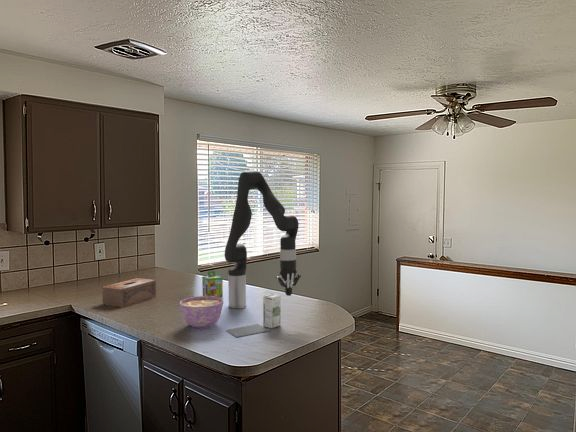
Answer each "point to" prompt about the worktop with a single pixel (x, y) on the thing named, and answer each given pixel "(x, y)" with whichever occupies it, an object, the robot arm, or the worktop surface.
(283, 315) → the worktop surface
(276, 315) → the syrup box
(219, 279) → the green juice carton
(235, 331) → the mat
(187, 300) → the bowl of food
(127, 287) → the tissue box cover
